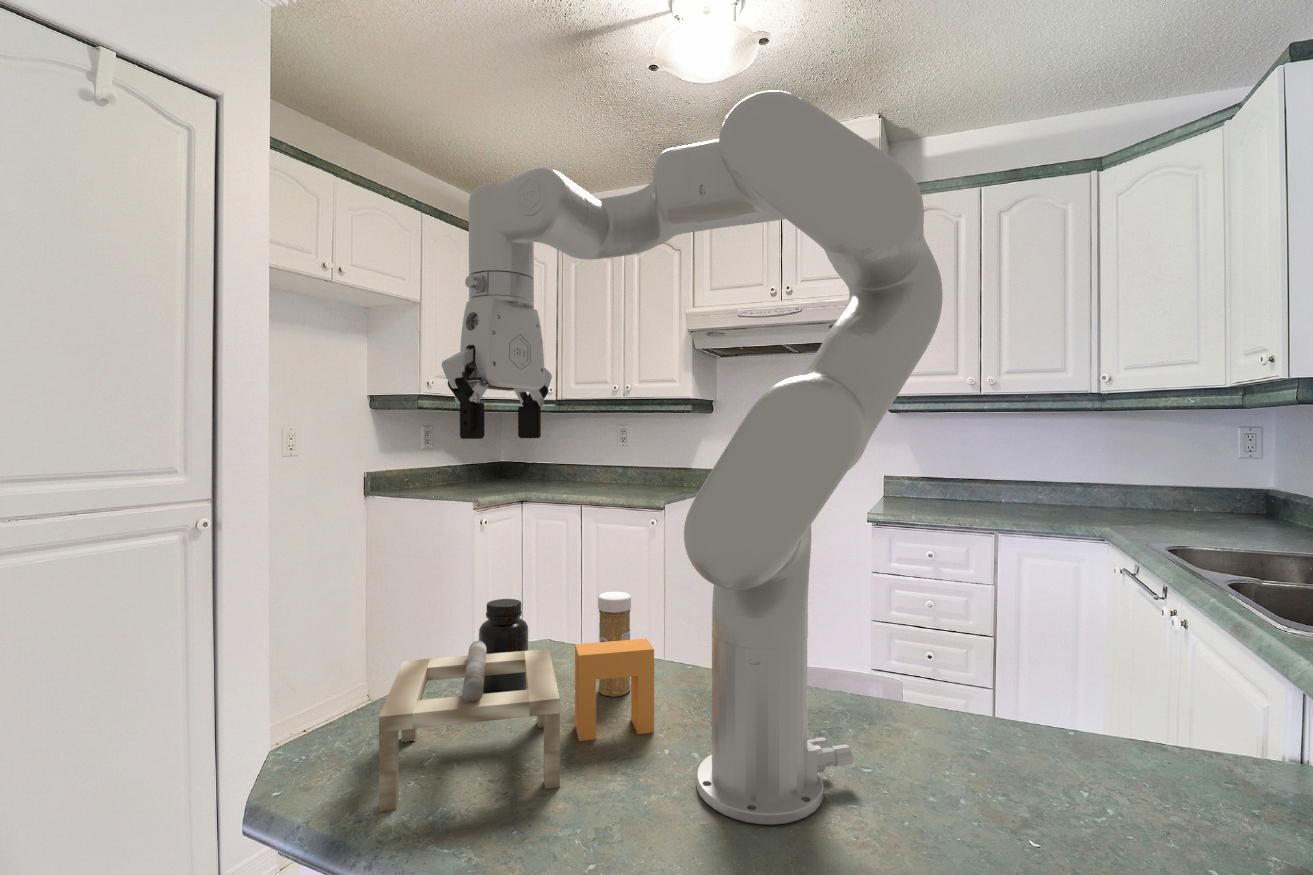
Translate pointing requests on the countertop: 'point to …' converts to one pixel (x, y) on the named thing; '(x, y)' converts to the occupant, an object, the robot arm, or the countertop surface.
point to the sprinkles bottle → (614, 634)
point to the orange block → (614, 663)
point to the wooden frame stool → (467, 706)
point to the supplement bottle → (504, 642)
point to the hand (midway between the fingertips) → (502, 438)
